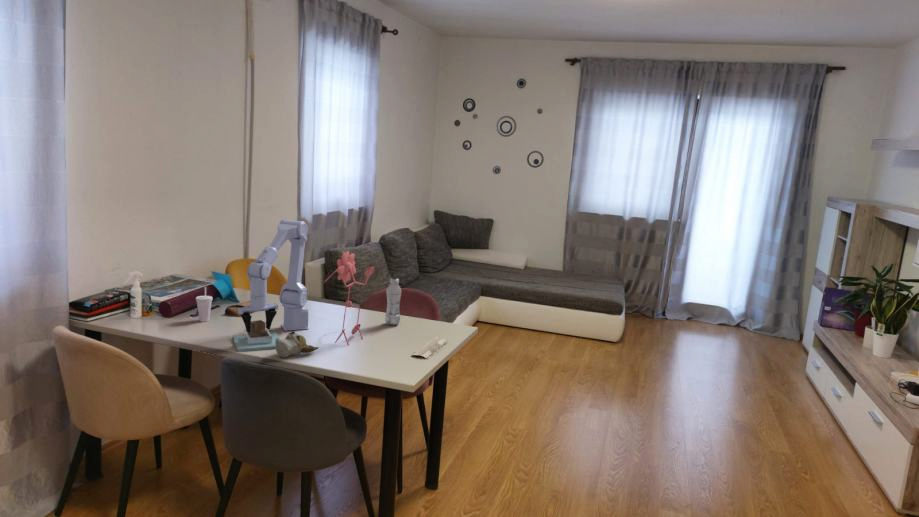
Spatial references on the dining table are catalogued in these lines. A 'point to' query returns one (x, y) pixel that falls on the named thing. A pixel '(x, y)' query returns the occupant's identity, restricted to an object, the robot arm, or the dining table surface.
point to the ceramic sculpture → (293, 345)
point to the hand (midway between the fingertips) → (258, 330)
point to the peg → (257, 328)
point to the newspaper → (429, 347)
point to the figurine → (345, 272)
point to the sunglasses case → (236, 309)
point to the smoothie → (204, 307)
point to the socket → (258, 338)
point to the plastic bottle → (393, 302)
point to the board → (243, 346)
